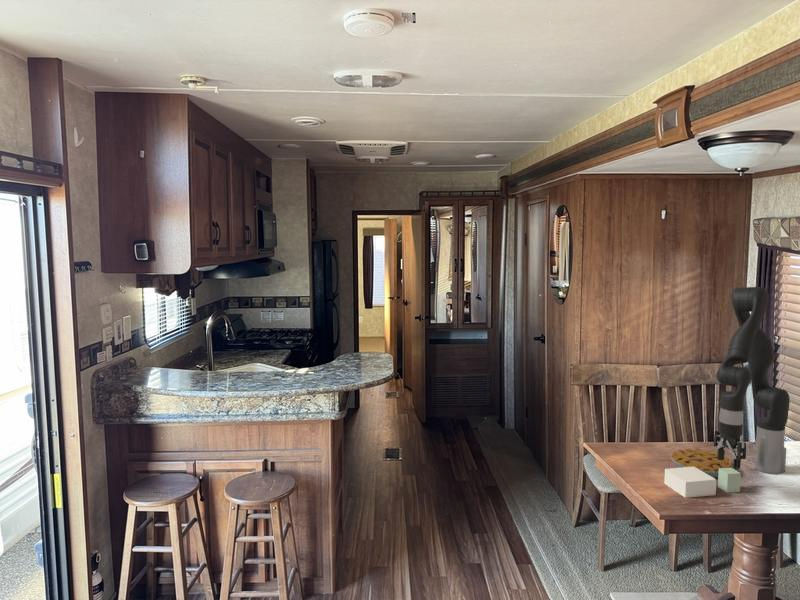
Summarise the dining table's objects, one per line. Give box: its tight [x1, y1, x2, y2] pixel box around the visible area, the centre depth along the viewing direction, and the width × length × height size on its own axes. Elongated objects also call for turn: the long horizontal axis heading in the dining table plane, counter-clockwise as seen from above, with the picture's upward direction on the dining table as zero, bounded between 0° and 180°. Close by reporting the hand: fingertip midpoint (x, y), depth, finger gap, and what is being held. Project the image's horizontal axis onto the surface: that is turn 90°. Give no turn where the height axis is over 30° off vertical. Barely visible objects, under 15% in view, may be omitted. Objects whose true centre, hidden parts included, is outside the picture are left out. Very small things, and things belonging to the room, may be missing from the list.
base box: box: [664, 467, 717, 499], centre depth 207 cm, size 12×12×6 cm
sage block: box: [717, 468, 742, 494], centre depth 206 cm, size 5×5×7 cm
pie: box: [670, 448, 734, 479], centre depth 225 cm, size 22×22×5 cm
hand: (728, 464), depth 205 cm, fingers open, 8 cm apart
